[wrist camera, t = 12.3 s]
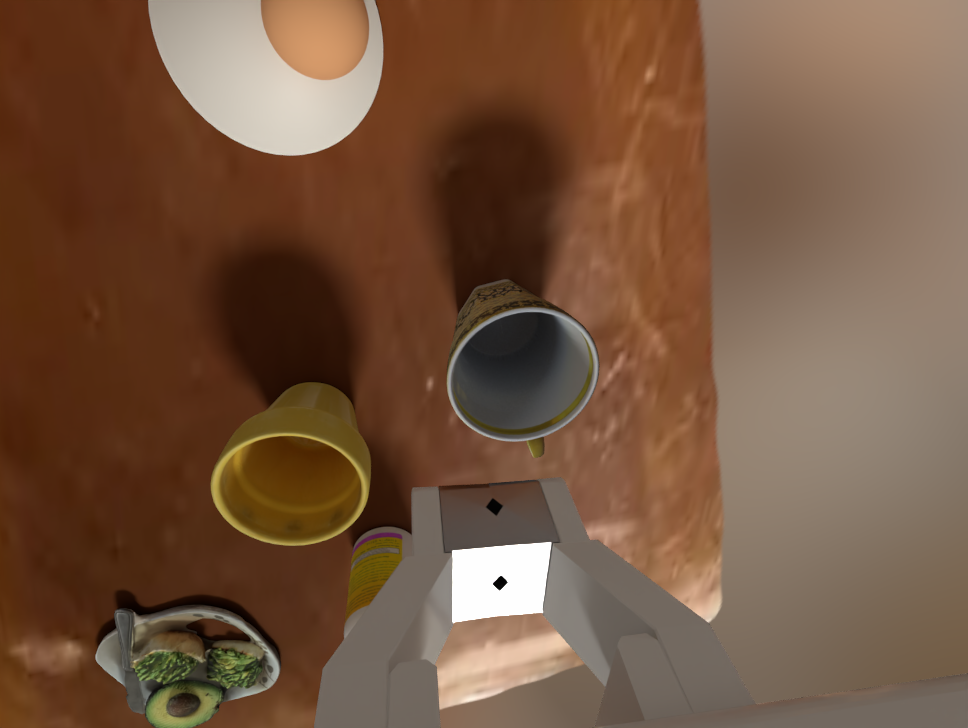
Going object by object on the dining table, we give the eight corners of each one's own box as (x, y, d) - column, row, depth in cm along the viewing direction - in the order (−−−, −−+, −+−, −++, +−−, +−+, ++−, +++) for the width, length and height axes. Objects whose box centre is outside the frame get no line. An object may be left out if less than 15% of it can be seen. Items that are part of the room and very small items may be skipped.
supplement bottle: (339, 547, 50) (320, 677, 39) (388, 513, 48) (382, 637, 37) (384, 577, 53) (378, 706, 42) (431, 546, 51) (438, 670, 40)
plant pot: (245, 355, 38) (200, 429, 30) (379, 364, 40) (372, 436, 32) (254, 459, 43) (216, 547, 35) (373, 462, 45) (365, 547, 37)
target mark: (183, 152, 31) (182, 153, 31) (117, -122, 25) (115, -124, 25) (389, 157, 33) (389, 157, 33) (375, -98, 27) (375, -100, 27)
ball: (302, 74, 24) (384, 94, 29) (305, -67, 22) (395, -22, 26) (240, 62, 27) (324, 82, 31) (237, -65, 25) (329, -24, 29)
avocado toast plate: (50, 615, 49) (18, 661, 45) (221, 568, 49) (205, 610, 45) (156, 708, 59) (138, 753, 55) (299, 669, 59) (291, 710, 55)
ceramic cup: (423, 276, 37) (428, 330, 29) (549, 244, 38) (592, 288, 29) (462, 410, 44) (476, 488, 35) (569, 383, 44) (609, 453, 35)
